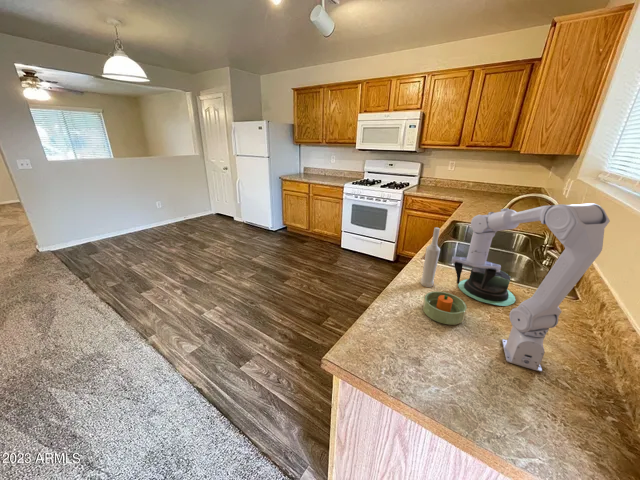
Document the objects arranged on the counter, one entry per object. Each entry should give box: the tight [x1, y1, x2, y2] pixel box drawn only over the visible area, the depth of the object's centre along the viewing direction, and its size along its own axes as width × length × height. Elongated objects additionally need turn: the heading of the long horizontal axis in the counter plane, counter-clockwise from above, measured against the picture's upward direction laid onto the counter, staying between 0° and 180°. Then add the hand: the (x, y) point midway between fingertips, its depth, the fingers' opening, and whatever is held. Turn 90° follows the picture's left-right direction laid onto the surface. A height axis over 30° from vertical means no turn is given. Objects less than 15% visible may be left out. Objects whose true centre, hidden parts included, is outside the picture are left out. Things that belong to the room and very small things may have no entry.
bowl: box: [422, 290, 468, 326], centre depth 92 cm, size 13×13×5 cm
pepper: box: [436, 295, 453, 312], centre depth 92 cm, size 5×5×7 cm
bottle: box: [420, 227, 441, 288], centre depth 107 cm, size 5×5×25 cm
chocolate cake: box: [457, 267, 516, 307], centre depth 106 cm, size 15×19×20 cm
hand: (469, 284), depth 93 cm, fingers open, 7 cm apart
